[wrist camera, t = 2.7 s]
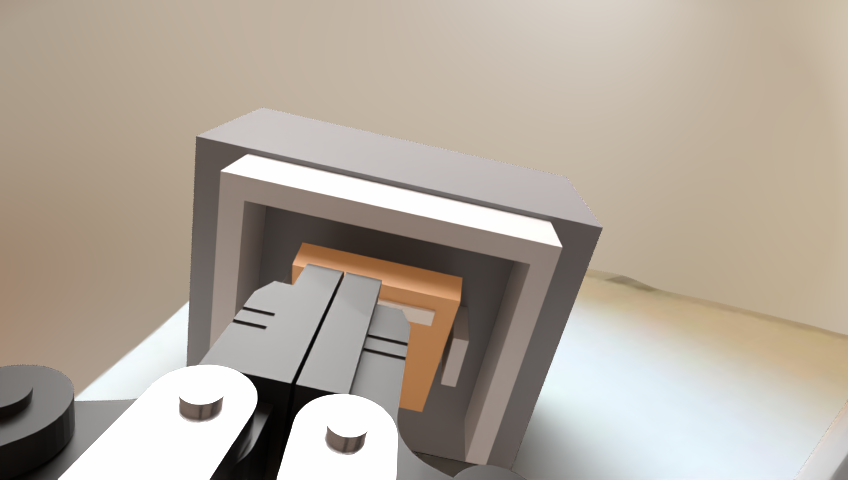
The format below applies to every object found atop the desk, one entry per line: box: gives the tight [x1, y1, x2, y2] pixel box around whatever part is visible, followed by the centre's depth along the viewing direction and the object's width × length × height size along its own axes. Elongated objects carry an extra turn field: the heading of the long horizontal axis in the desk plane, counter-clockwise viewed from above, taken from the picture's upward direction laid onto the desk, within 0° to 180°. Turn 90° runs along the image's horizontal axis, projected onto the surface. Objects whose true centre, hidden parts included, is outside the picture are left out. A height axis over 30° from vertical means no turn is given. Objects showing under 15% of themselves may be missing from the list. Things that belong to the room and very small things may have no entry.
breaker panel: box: [187, 108, 602, 470], centre depth 34 cm, size 22×14×18 cm, turn 87°
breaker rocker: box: [292, 243, 462, 412], centre depth 28 cm, size 8×2×10 cm, turn 87°
